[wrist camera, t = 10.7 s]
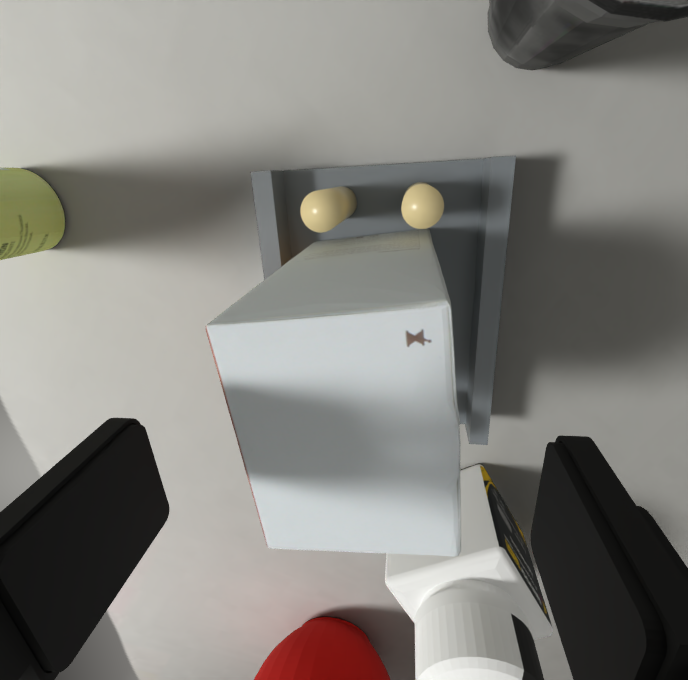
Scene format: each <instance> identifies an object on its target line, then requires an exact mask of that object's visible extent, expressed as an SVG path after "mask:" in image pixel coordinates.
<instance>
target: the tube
mask: <svg viewBox="0 0 688 680" xmlns="http://www.w3.org/2000/svg"><path fill="white" fill-rule="evenodd" d="M64 229H65V216H64V212H63V208H62V205H61V203H60V200H59V198H58V197H57V195H56V193H55V192H54V190H53V189H52V188H51V187H50V185H49V184H48V183H47V182H46V181H44V180H43V179H42V178H41V177H39V176H38V175H36V174H35V173H33V172H30V171H28V170H25V169H20V168H0V260H3V259H7V258H12V257H17V256H22V255H26V254H31V253H35V252H40V251H44V250H47V249H50V248H52V247H54V246H55V245H57V244H58V242H59V241H60V240H61V238H62V237H63V234H64Z"/></svg>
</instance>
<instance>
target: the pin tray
mask: <svg viewBox="0 0 688 680" xmlns="http://www.w3.org/2000/svg"><path fill="white" fill-rule="evenodd" d="M515 160H516V156H501V157H490V158H485V159H470V160H453V161H437V162H420V163H404V164H387V165H371V166H354V167H338V168H321V169H304V170H288V171H255V172H251V180H252V187H253V195H254V203H255V211H256V218H257V226H258V234H259V242H260V249H261V257H262V265H263V273H264V280H265V279H266V278H268V277H269V276H270V275H272V274H273V273H274V272H276V271H277V270H278V269H280V268H281V267H282V266H283V265H285V264H286V263H287V262H288V261H290V260H291V259H292V258H294V257H295V256H296V255H298V254H299V253H300V252H302V251H303V250H305V249H306V248H307V247H308V246H310V245H311V244H312V243H314V242H317V241H326V240H334V239H342V238H352V237H360V236H369V235H378V234H386V233H395V232H403V231H412V230H420V229H429V230H430V234H431V238H432V243H433V246H434V249H435V252H436V255H437V258H438V261H439V264H440V267H441V271H442V275H443V278H444V281H445V284H446V288H447V292H448V295H449V298H450V302H451V308H452V323H453V338H454V357H455V376H456V393H457V404H458V411H459V419H460V422H459V424H465V427H466V431H467V436H468V441H469V444H481V445H487V444H488V434H489V424H490V414H491V404H492V394H493V383H494V373H495V363H496V353H497V343H498V333H499V323H500V312H501V302H502V292H503V282H504V272H505V262H506V252H507V242H508V231H509V221H510V211H511V201H512V191H513V181H514V171H515Z"/></svg>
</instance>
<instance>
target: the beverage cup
mask: <svg viewBox="0 0 688 680" xmlns="http://www.w3.org/2000/svg"><path fill="white" fill-rule="evenodd" d="M489 3H490V6H489V10H488V32H489V35H490V38H491V41H492V44H493V47H494V49H495V50H496V52H497V53H498V54H499V55H500V57H501V58H502V59H503V60H504V61H505V62H507V63H509V64H511V65H512V66H514V67H516V68H520V69H527V70H535V69H540V68H545V67H549V66H550V65H554V64H558V63H562V62H564V61H566V60H568V59H570V58H573V57H575V56H577V55H579V54H582V53H584V52H586V51H588V50H590V49H593V48H595V47H597V46H599V45H602V44H604V43H606V42H608V41H610V40H613V39H615V38H617V37H619V36H621V35H624V34H626V33H628V32H630V31H633V30H635V29H637V28H639V27H641V26H644V25H646V24H648V23H652V22H657V21H670V20H674V19H679V18H684V17H688V0H489Z"/></svg>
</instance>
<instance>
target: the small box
mask: <svg viewBox="0 0 688 680" xmlns="http://www.w3.org/2000/svg"><path fill="white" fill-rule="evenodd" d="M206 332H207V336H208V339H209V343H210V346H211V350H212V353H213V357H214V360H215V364H216V367H217V371H218V374H219V378H220V381H221V385H222V388H223V392H224V395H225V399H226V403H227V406H228V410H229V413H230V417H231V420H232V424H233V427H234V430H235V434H236V437H237V441H238V445H239V448H240V452H241V455H242V459H243V462H244V466H245V470H246V473H247V477H248V480H249V484H250V487H251V490H252V494H253V498H254V501H255V504H256V508H257V512H258V515H259V519H260V523H261V526H262V530H263V533H264V537H265V540H266V545H267V547H268V548H271V549H290V550H318V551H340V552H363V553H389V554H412V555H436V556H453V557H454V556H458V555H459V554H460V552H461V488H460V429H459V422H460V419H459V411H458V404H457V393H456V376H455V357H454V338H453V323H452V308H451V302H450V298H449V295H448V292H447V288H446V284H445V281H444V278H443V275H442V271H441V267H440V264H439V261H438V258H437V255H436V252H435V249H434V246H433V243H432V238H431V234H430V230H429V229H420V230H412V231H403V232H395V233H386V234H378V235H369V236H360V237H352V238H342V239H334V240H326V241H317V242H314V243H312V244H311V245H310V246H308V247H307V248H306V249H305V250H303V251H302V252H300V253H299V254H298V255H296V256H295V257H294V258H292V259H291V260H290V261H288V262H287V263H286V264H285V265H283V266H282V267H281V268H280V269H278V270H277V271H276V272H274V273H273V274H272V275H270V276H269V277H268V278H266V279H265V280H264V281H263V282H261V283H260V284H259V285H257V286H256V287H255V288H253V289H252V290H251V291H250V292H248V293H247V294H246V295H244V296H243V297H242V298H241V299H239V300H238V301H237V302H235V303H234V304H233V305H231V306H230V307H229V308H228V309H226V310H225V311H224V312H222V313H221V314H220V315H219V316H217V317H216V318H215V319H214V320H212V321H211V322H210V323H208V324H207V325H206Z"/></svg>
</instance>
